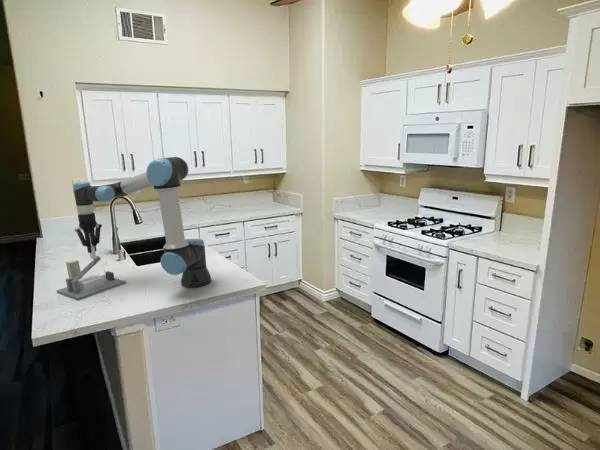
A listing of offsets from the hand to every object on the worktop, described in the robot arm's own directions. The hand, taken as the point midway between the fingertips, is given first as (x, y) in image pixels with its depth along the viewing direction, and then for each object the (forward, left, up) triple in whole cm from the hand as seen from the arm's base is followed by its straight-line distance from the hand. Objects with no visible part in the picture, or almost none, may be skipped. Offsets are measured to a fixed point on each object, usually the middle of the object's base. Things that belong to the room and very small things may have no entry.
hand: (93, 258), depth 199 cm
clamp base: (0, +3, -15) cm, 15 cm away
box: (+20, +1, -15) cm, 25 cm away
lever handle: (0, +4, -5) cm, 6 cm away
